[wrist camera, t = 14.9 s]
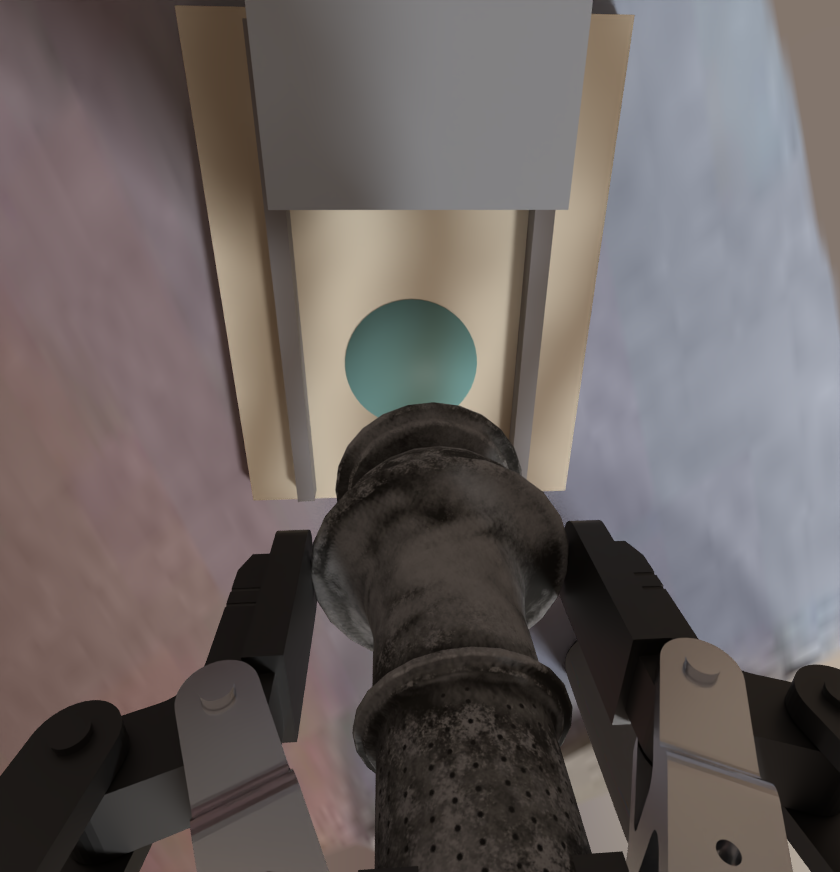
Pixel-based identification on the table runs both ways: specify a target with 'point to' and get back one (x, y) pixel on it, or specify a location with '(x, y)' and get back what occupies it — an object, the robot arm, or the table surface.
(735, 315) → the table surface
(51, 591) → the table surface
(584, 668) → the bottle
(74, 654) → the table surface
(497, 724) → the salt shaker
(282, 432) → the board
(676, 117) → the table surface
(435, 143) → the cover
